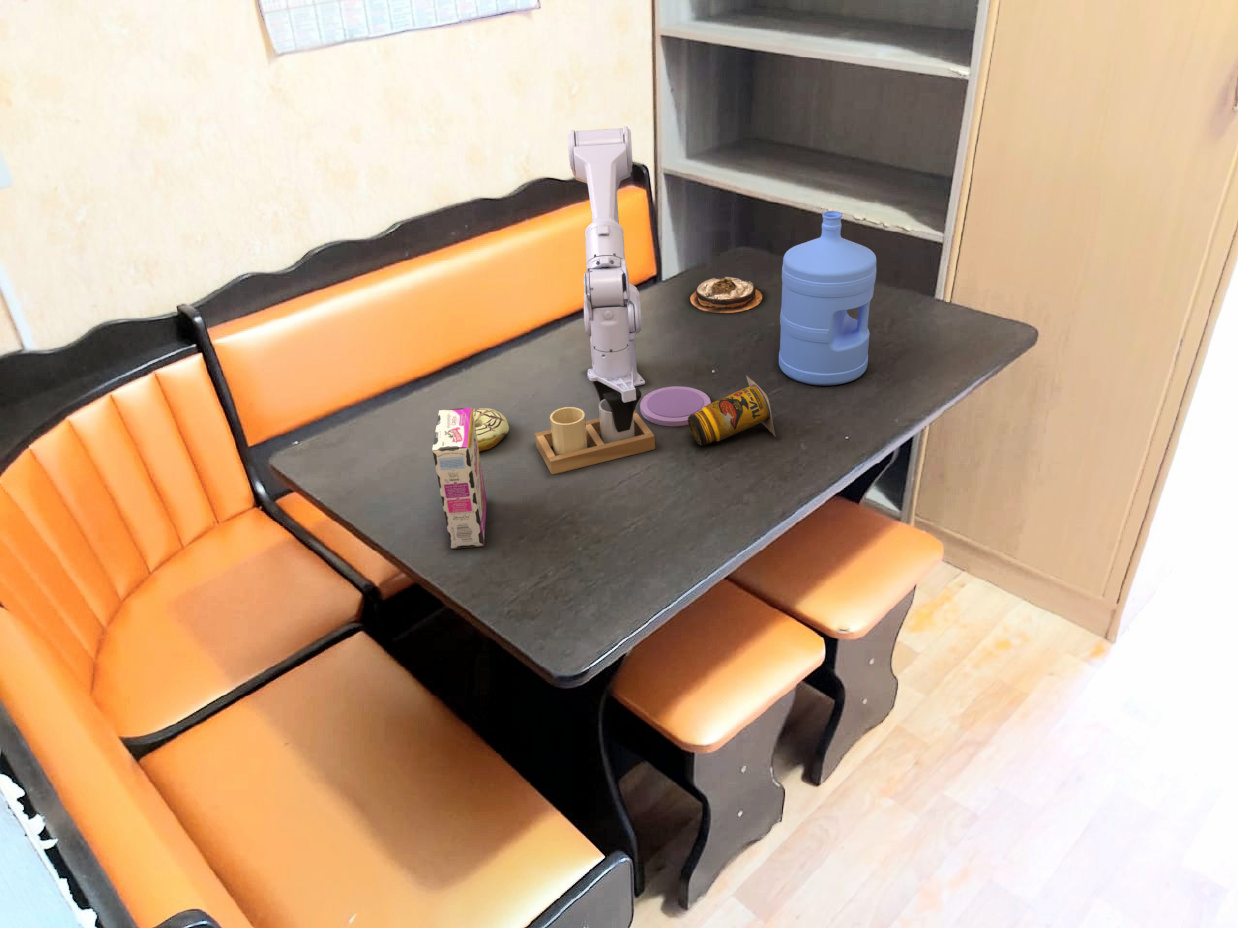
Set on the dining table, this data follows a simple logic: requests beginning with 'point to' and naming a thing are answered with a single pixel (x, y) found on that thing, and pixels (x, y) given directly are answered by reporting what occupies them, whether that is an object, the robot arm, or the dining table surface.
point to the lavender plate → (672, 405)
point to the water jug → (826, 307)
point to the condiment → (731, 415)
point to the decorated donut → (489, 427)
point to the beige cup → (568, 430)
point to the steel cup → (611, 425)
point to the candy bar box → (460, 477)
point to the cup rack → (595, 447)
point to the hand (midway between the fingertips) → (616, 421)
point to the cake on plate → (725, 295)
